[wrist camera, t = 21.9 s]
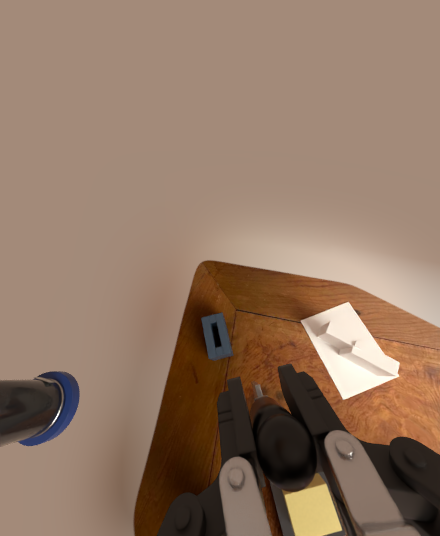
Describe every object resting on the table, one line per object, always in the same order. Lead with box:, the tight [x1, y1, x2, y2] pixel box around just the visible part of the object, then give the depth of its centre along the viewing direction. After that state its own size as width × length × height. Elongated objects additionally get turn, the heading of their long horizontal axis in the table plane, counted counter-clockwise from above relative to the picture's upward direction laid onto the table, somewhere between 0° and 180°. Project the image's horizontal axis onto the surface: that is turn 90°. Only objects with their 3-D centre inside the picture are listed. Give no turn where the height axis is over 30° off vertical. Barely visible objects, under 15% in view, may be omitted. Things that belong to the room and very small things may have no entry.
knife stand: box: [201, 313, 233, 360], centre depth 41 cm, size 4×7×6 cm, turn 13°
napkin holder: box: [301, 302, 400, 400], centre depth 38 cm, size 15×11×6 cm
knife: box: [250, 381, 317, 492], centre depth 15 cm, size 2×4×19 cm, turn 13°
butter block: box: [282, 473, 342, 536], centre depth 29 cm, size 6×4×4 cm
